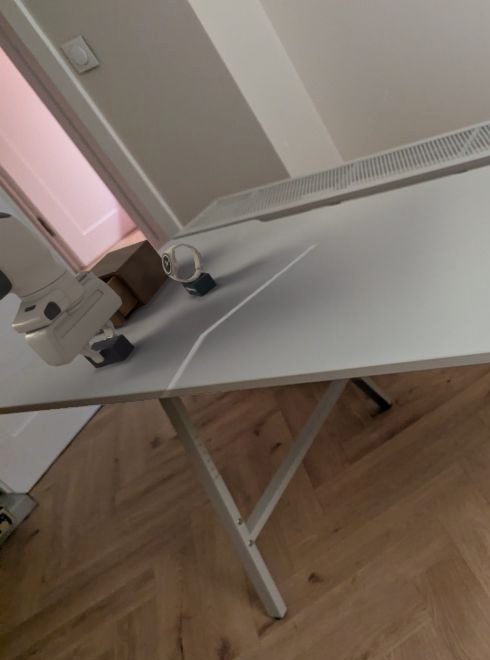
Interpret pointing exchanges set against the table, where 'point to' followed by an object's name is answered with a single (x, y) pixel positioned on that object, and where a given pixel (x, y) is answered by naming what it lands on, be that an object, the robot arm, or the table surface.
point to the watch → (197, 281)
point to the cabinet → (134, 269)
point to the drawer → (126, 298)
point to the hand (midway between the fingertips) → (109, 351)
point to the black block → (112, 350)
